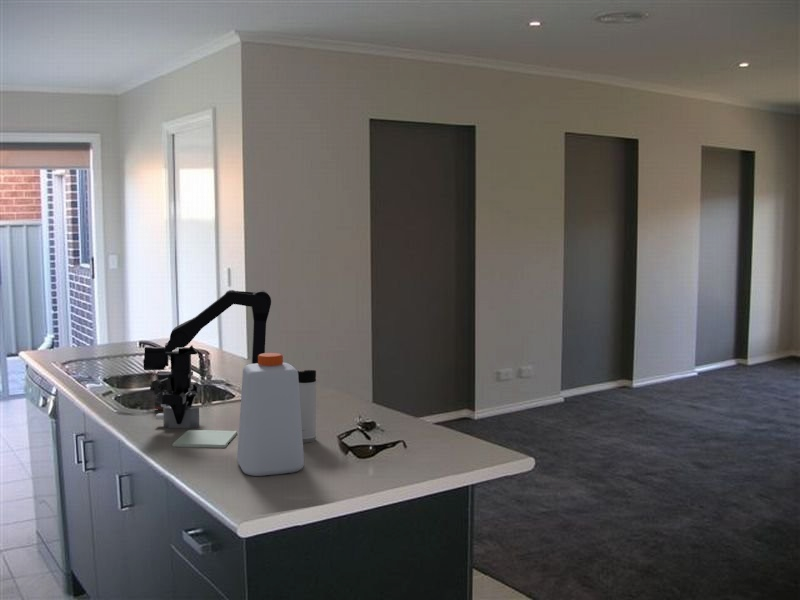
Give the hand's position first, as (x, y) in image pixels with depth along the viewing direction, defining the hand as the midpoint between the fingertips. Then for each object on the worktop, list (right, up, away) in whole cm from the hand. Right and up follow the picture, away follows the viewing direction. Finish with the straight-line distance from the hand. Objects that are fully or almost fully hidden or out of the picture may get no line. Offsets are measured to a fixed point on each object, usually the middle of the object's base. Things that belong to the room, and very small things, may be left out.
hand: (181, 421), depth 229 cm
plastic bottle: (+32, -6, -36) cm, 49 cm away
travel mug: (+38, -3, -13) cm, 40 cm away
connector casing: (0, -1, 0) cm, 1 cm away
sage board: (+11, -3, -14) cm, 18 cm away
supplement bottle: (-11, +1, +21) cm, 24 cm away
